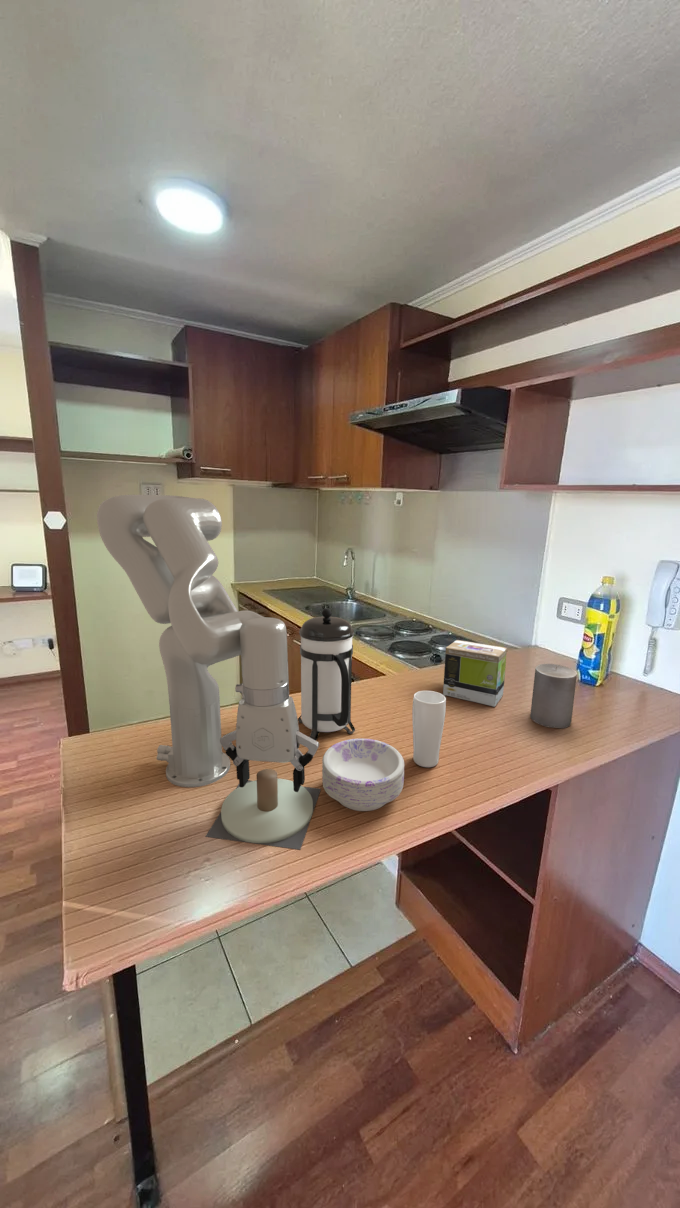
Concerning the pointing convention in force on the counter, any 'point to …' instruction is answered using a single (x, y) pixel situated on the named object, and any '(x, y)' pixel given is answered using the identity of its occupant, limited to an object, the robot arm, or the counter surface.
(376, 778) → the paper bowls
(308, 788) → the mat
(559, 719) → the pillar candle
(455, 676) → the tea box
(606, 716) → the counter surface
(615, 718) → the counter surface
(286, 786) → the lid
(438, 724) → the drinking glass
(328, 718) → the coffee press
